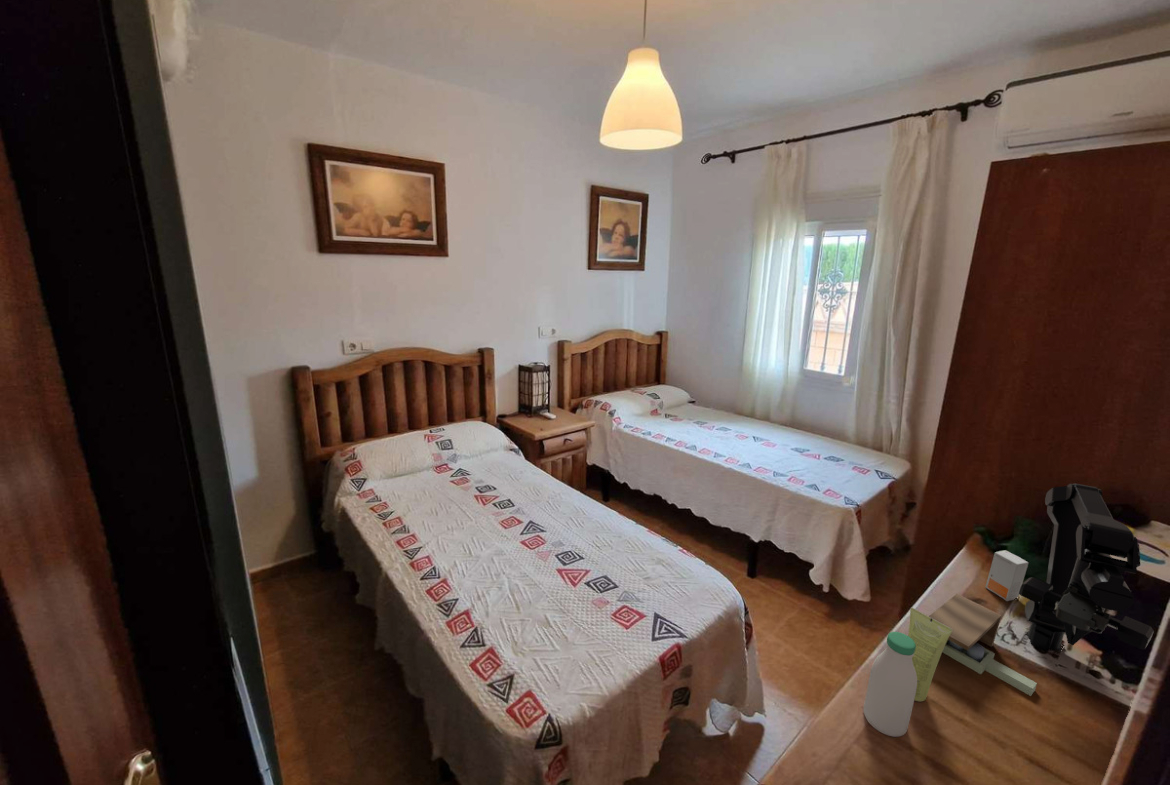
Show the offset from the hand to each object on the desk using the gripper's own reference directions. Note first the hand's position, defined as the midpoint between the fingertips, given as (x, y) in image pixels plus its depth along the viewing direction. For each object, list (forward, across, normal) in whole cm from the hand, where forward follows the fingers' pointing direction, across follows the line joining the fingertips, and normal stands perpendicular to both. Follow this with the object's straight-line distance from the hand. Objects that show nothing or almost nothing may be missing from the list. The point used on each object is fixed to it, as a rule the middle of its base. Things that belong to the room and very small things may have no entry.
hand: (1071, 643), depth 100 cm
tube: (+12, -16, -28) cm, 34 cm away
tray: (+12, -11, -7) cm, 18 cm away
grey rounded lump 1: (+11, -16, -7) cm, 21 cm away
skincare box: (+12, -19, +29) cm, 36 cm away
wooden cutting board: (+12, -16, -7) cm, 22 cm away
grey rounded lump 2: (+11, -13, -7) cm, 18 cm away
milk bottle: (+12, -16, -40) cm, 45 cm away
